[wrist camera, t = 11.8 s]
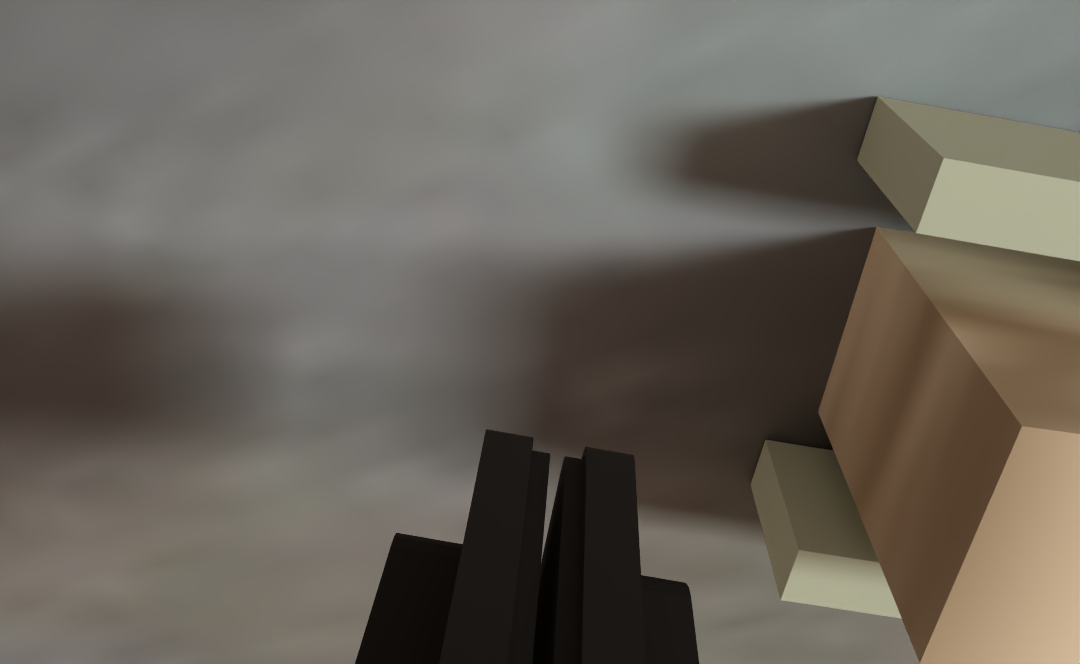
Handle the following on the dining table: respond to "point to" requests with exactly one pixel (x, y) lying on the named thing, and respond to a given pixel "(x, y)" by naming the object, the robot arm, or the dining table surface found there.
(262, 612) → the dining table surface
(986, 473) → the tan rectangular block
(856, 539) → the cradle
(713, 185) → the dining table surface
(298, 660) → the dining table surface
